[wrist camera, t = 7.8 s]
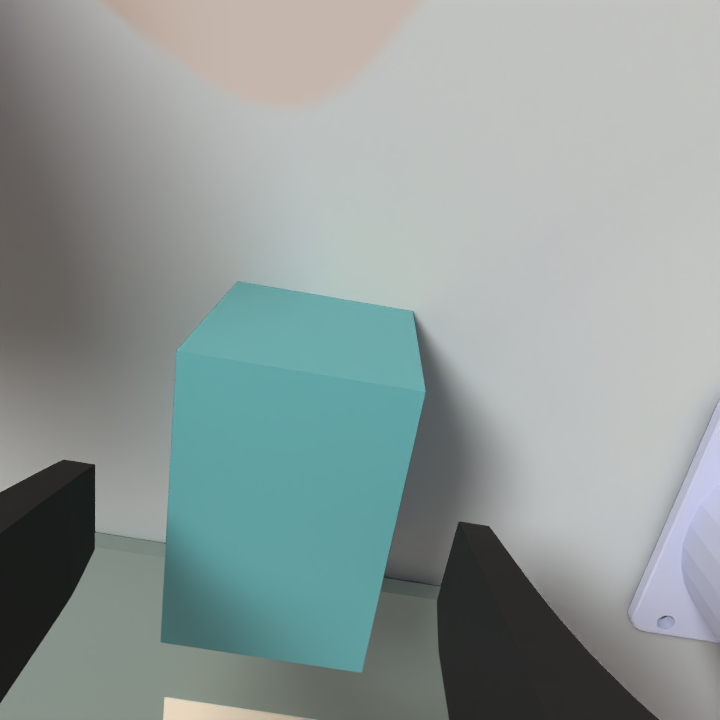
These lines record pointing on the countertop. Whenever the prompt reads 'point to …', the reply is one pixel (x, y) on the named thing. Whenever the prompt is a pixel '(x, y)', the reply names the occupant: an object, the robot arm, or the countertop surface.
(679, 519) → the robot arm
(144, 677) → the baseplate
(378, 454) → the teal brick
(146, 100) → the countertop surface
